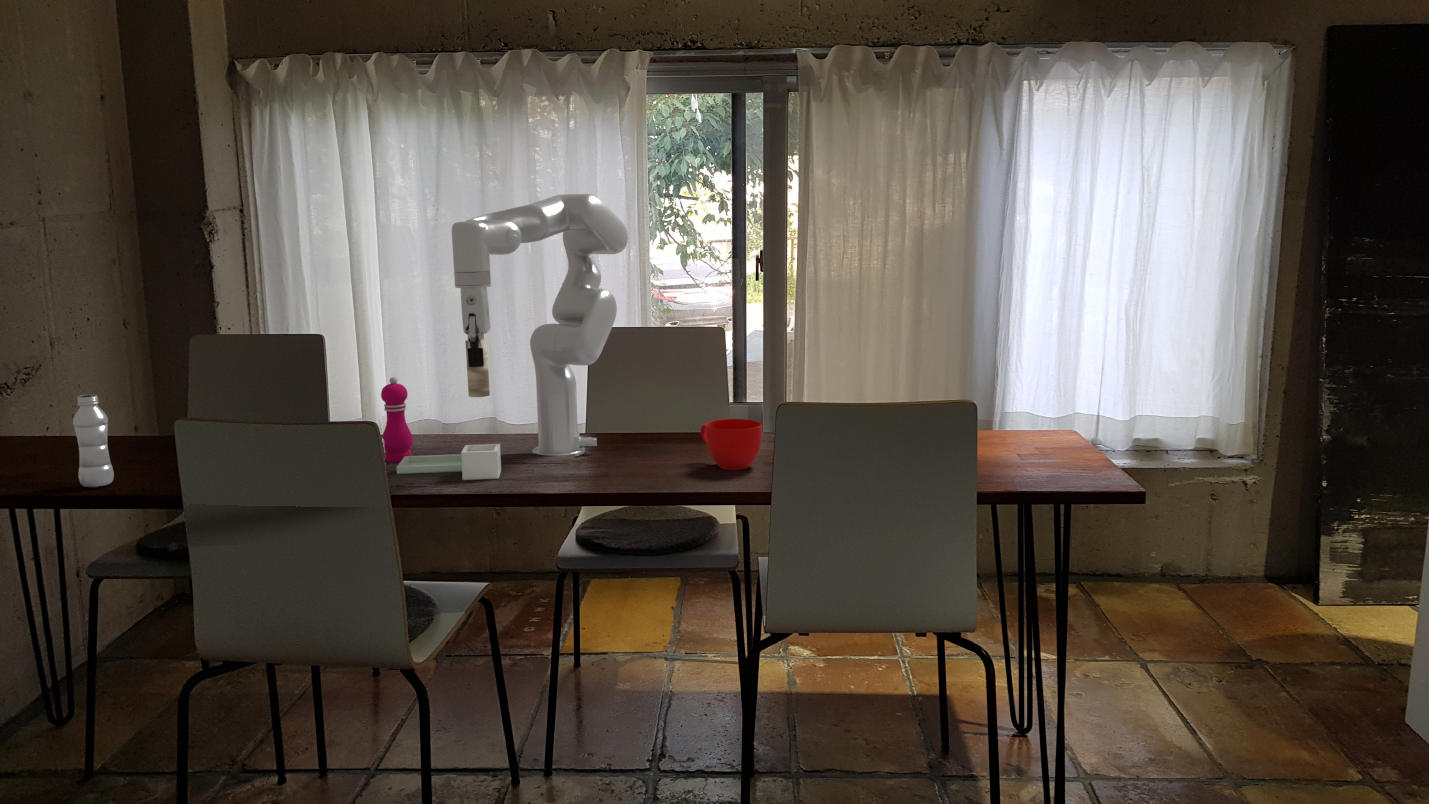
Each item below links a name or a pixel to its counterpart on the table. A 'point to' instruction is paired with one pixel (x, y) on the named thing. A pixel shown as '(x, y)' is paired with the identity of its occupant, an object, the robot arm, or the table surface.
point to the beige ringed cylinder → (478, 375)
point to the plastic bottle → (92, 443)
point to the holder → (481, 461)
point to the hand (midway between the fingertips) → (477, 364)
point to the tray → (430, 464)
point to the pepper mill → (396, 422)
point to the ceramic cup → (733, 442)
